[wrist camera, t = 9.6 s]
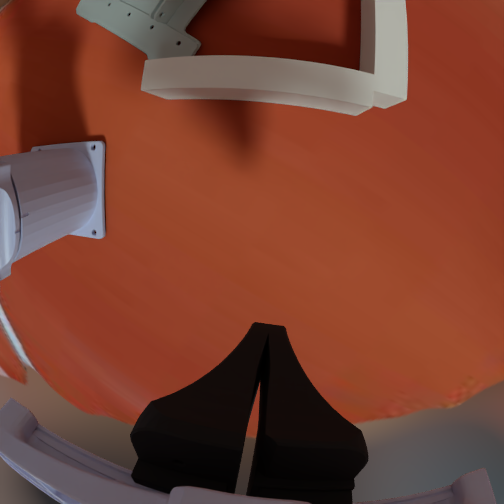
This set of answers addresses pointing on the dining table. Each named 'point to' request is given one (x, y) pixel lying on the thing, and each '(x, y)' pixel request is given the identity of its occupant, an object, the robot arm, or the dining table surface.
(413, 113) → the dining table surface
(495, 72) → the dining table surface
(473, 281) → the dining table surface
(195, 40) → the metal bracket
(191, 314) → the dining table surface
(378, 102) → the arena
